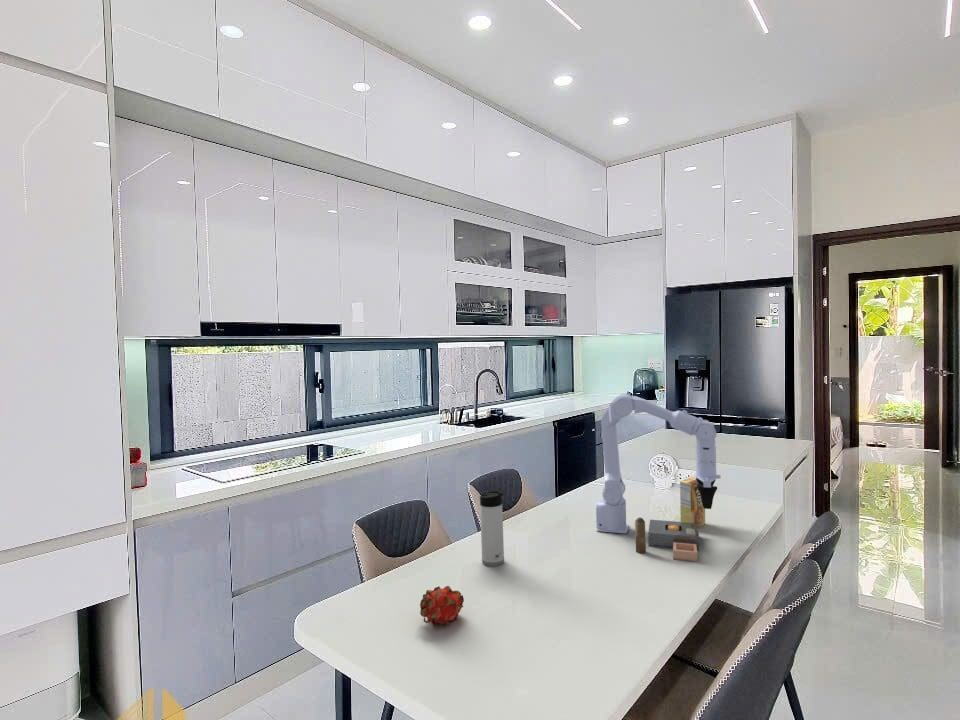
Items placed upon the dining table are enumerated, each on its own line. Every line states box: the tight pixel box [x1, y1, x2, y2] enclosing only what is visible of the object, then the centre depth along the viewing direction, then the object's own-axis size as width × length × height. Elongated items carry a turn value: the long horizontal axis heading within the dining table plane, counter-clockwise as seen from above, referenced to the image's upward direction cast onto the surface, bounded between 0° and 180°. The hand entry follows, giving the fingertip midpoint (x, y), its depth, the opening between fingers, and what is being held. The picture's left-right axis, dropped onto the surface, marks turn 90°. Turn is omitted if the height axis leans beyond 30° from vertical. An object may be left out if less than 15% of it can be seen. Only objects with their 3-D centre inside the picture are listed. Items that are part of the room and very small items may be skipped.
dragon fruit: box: [419, 585, 465, 627], centre depth 120 cm, size 8×8×12 cm
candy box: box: [679, 476, 706, 528], centre depth 174 cm, size 9×4×15 cm, turn 129°
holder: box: [672, 542, 698, 563], centre depth 150 cm, size 6×6×2 cm
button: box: [668, 525, 679, 531], centre depth 162 cm, size 3×3×1 cm
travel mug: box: [479, 490, 505, 567], centre depth 151 cm, size 6×7×20 cm
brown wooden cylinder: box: [634, 517, 647, 554], centre depth 154 cm, size 3×3×10 cm
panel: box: [648, 519, 701, 552], centre depth 162 cm, size 14×12×4 cm
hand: (706, 504), depth 164 cm, fingers open, 7 cm apart
